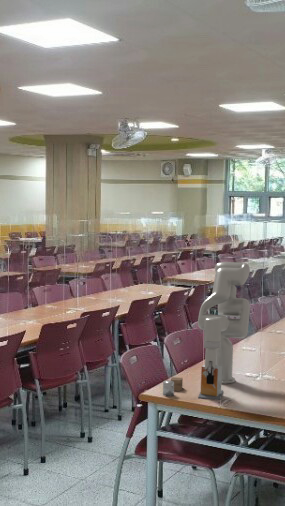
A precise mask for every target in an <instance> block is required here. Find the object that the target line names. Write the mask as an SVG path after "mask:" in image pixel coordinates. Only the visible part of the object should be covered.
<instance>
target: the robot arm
mask: <svg viewBox="0 0 285 506" xmlns="http://www.w3.org/2000/svg"><path fill="white" fill-rule="evenodd" d="M214 269H215V270H214V272H215V275H214V281H213V287H212V291H211V292H212V293H211V295H210V296H208V297H207V298H206V299H205V300H204V301H203V302H202V303H201V306H200V309H199V313H198V319H197V327H198V328H199V329H200V330H202V331H203V335H204V336H203V349H205V357H204V365H205V370H206V369H207V368H208V369H207V384H214V375H213V372H214V370H215V368H216V366H217V365H219V366H222V381H221V383H222V384H233V383H235V382H236V378H235V377H233V363H234V362H233V359H234V358H233V357H234V346H233V343H232V341H231V340H230V339H245V338H246V337H247V336H248V333H249V332H248V331H249V323H250V312H251V308H250V307H251V306H250V305H251V304H250V301H249V300H248V299H247V298H244V297H243V298H241V297H237V290H238V289H237V287H236V286H244V285H245V283H246V281H247V280H248V278H249V276H250V265H249V264H248V263H246V262H236V261H234V262H233V261H221V262H218V263H216V264H215V268H214ZM215 306H217V312H218V314H212V313H211V314H210V313H208V314H207V312H208V311H209V310H210V309H211V308H213V307H215ZM230 317H231V318H230ZM232 317H233V318H232ZM211 368H213V369H211ZM222 384H221V385H222Z"/></svg>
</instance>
